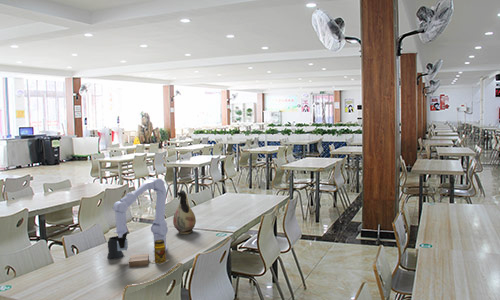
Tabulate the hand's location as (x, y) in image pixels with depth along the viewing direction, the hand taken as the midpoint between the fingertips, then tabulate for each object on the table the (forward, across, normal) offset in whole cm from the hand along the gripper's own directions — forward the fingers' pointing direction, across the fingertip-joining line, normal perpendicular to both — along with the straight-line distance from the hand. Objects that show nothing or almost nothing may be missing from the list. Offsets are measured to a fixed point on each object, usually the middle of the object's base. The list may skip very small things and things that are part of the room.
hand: (122, 246), depth 231 cm
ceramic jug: (+9, -45, +36) cm, 58 cm away
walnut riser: (+8, +6, +9) cm, 14 cm away
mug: (+9, -10, -5) cm, 14 cm away
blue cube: (+2, 0, 0) cm, 2 cm away
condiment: (+9, +7, +20) cm, 23 cm away
